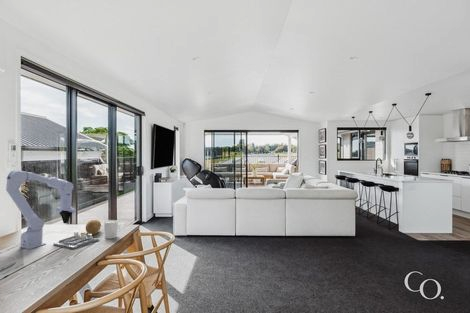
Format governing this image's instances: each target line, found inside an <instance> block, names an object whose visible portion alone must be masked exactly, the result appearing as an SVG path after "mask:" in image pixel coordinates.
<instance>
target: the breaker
mask: <svg viewBox="0 0 470 313" xmlns="http://www.w3.org/2000/svg"><path fill="white" fill-rule="evenodd" d="M86 237H87V235H86V232H84V231H83V232H80V236H79V239H83V238H86Z"/></svg>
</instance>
